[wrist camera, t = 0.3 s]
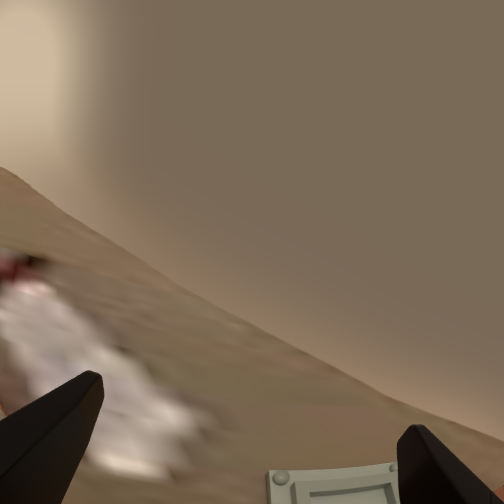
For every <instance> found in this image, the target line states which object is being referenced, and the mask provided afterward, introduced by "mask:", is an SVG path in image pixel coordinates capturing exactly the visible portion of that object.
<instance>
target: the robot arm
mask: <svg viewBox="0 0 504 504" xmlns="http://www.w3.org/2000/svg"><path fill="white" fill-rule="evenodd" d="M103 400H104V387H103V380H102V376H101V375H100V374H99V373H96V372H93V371H90V370H88V371H85V372H83V373H81V374H80V375H78V376H76V377H75V378H73V379H71V380H70V381H68V382H66V383H64V384H63V385H61V386H59V387H58V388H56V389H54V390H52V391H51V392H49V393H47V394H45V395H44V396H42V397H40V398H39V399H37V400H35V401H33V402H32V403H30V404H28V405H26V406H25V407H23V408H21V409H19V410H18V411H16V412H14V413H12V414H11V415H9V416H7V417H5V418H4V419H2V420H0V504H61V503H62V500H63V498H64V496H65V494H66V491H67V489H68V487H69V485H70V482H71V480H72V478H73V476H74V474H75V472H76V469H77V467H78V465H79V463H80V461H81V459H82V457H83V455H84V452H85V450H86V448H87V446H88V444H89V441H90V438H91V435H92V432H93V429H94V426H95V423H96V420H97V417H98V415H99V412H100V409H101V406H102V403H103ZM397 467H398V491H399V500H400V504H504V502H503V501H502V500H501V499H500V498H499V497H498V496H497V495H496V494H495V493H494V492H493V491H490V489H489V488H488V487H487V486H486V485H485V484H484V483H483V482H482V481H481V480H480V479H479V478H478V477H477V476H476V475H475V474H474V473H473V472H472V471H471V470H470V469H469V468H468V467H467V466H466V465H465V464H463V463H462V462H461V461H460V460H459V459H458V458H457V457H456V456H455V455H454V454H453V453H452V452H451V451H450V450H449V449H448V448H447V447H446V446H445V445H444V444H443V443H442V442H441V441H440V440H439V439H438V438H437V437H436V436H435V435H434V434H433V433H432V432H430V431H429V430H428V429H427V428H426V427H425V426H424V425H422V424H413V425H411V426H409V428H408V429H407V430H406V431H405V433H404V434H403V435H402V436H401V437H400V439H399V440H398V443H397Z"/></svg>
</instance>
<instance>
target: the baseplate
mask: <svg viewBox="0 0 504 504" xmlns="http://www.w3.org/2000/svg"><path fill="white" fill-rule="evenodd" d="M266 483H267V498H268V504H400V500H399V491H398V467H397V461H395V462H392V463H385V464H378V465H370V466H362V467H352V468H340V469H325V470H296V471H285V470H269V471H268V473H267V474H266Z"/></svg>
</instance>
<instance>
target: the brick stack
mask: <svg viewBox="0 0 504 504" xmlns="http://www.w3.org/2000/svg"><path fill="white" fill-rule="evenodd" d="M494 493H495V494H496V495H497V496H498V497H499V498H500V499H501V500H502V501H503V502H504V485H503V486H502V487H500V488H499V489H498V490H496V491H495V492H494Z"/></svg>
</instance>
